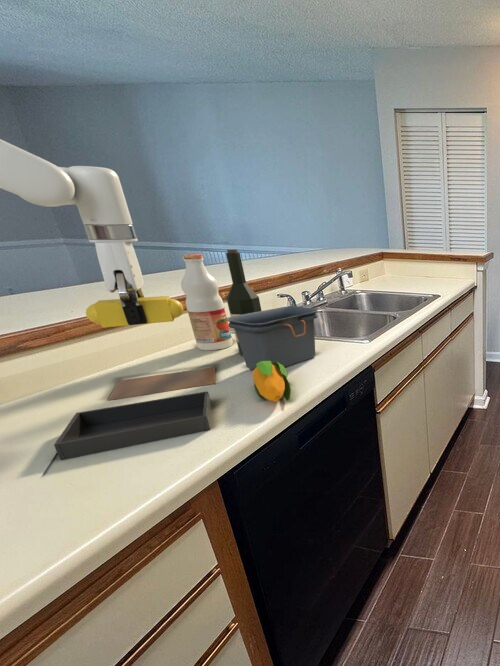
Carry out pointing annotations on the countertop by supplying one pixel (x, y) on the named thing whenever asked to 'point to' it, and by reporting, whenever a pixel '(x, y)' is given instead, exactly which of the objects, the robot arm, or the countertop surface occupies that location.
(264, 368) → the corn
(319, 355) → the countertop surface
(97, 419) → the tray
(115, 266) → the robot arm
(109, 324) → the yellow rounded-end bar
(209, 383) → the board
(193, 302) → the fruit juice
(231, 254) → the wine bottle
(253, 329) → the storage bin
